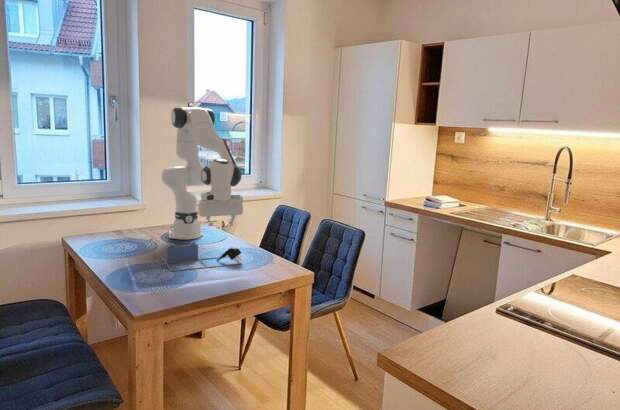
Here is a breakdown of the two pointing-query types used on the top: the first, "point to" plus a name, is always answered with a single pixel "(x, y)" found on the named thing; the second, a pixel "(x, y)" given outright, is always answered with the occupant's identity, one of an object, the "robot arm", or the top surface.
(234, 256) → the power plug
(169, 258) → the frame
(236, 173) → the robot arm
